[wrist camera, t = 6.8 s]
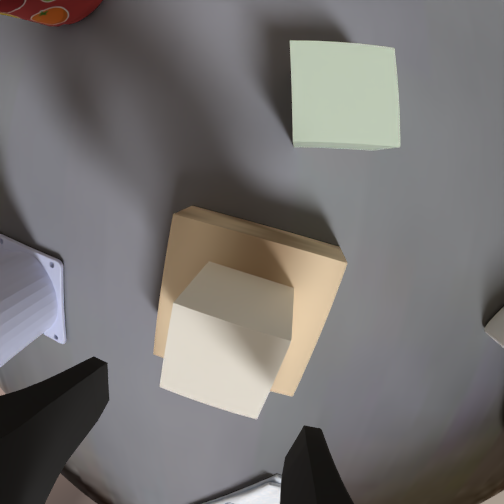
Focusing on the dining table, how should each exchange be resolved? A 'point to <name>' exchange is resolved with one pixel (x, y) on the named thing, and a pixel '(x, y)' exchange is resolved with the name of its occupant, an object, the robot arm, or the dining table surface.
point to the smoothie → (49, 10)
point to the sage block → (344, 96)
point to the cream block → (228, 339)
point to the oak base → (258, 264)
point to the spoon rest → (496, 327)
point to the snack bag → (254, 493)
